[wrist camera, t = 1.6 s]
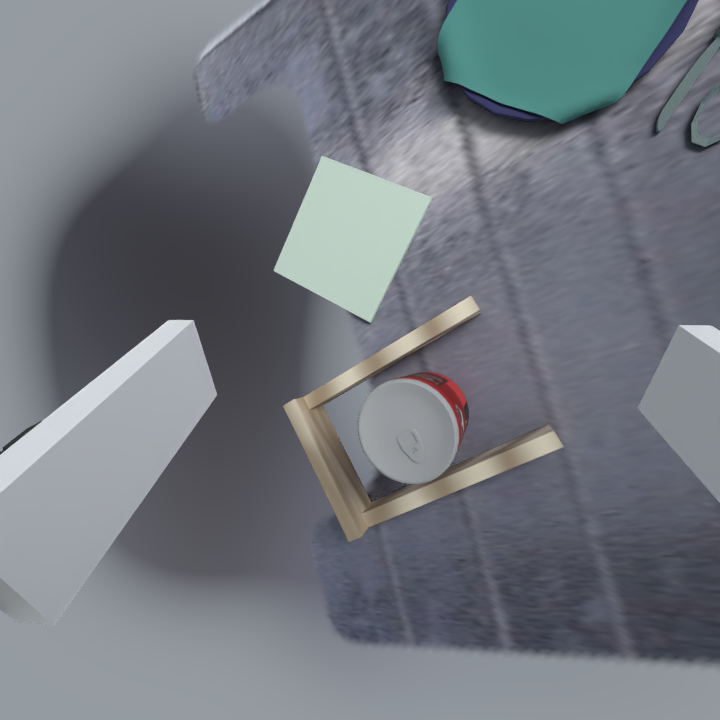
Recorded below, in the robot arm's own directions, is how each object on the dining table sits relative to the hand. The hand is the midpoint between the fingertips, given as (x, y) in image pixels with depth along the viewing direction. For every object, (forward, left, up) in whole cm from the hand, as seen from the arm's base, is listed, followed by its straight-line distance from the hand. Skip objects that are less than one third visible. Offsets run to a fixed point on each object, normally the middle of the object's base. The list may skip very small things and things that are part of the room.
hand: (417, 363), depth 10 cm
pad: (+18, -5, -26) cm, 32 cm away
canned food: (+1, +7, -27) cm, 27 cm away
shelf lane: (+2, +8, -26) cm, 27 cm away
